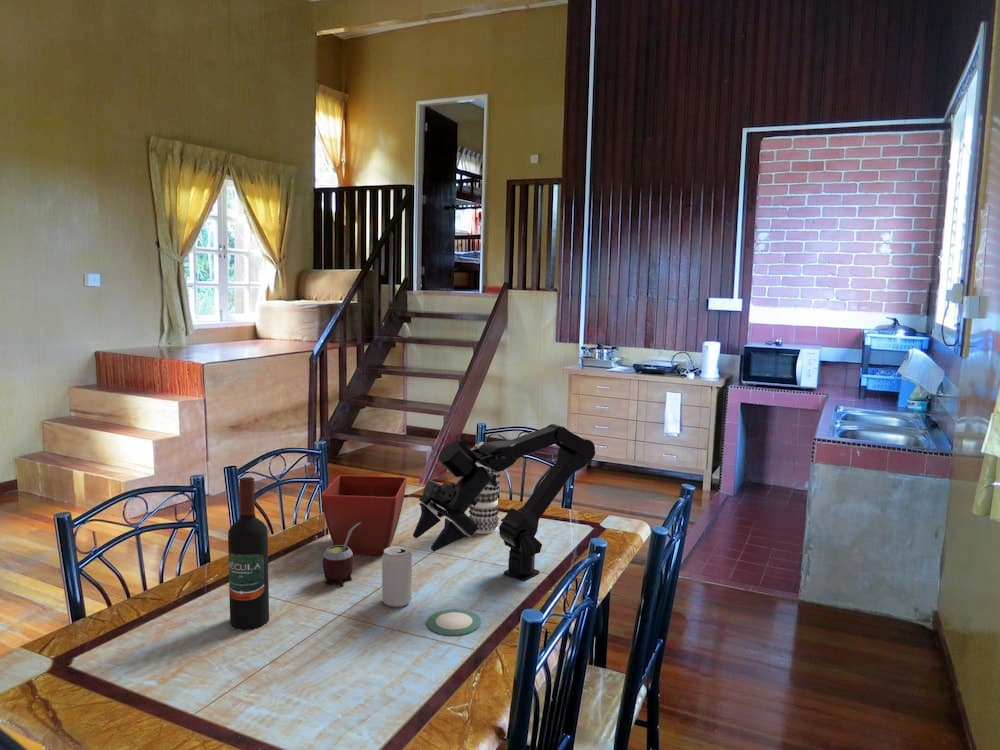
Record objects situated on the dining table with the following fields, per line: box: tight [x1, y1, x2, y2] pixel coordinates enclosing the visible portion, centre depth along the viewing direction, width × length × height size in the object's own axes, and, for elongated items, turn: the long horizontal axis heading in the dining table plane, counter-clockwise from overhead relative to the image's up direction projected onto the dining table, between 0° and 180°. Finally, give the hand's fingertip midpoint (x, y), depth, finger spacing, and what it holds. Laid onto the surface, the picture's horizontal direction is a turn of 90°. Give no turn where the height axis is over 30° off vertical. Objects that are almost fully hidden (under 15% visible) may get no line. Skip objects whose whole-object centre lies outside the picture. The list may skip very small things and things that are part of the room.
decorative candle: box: [468, 441, 501, 535], centre depth 205 cm, size 9×9×25 cm
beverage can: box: [381, 545, 413, 608], centre depth 157 cm, size 6×6×12 cm
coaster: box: [426, 608, 482, 637], centre depth 148 cm, size 11×11×1 cm
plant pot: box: [320, 474, 407, 556], centre depth 189 cm, size 19×19×17 cm
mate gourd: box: [322, 522, 361, 588], centre depth 167 cm, size 8×8×15 cm
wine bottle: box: [227, 476, 270, 631], centre depth 145 cm, size 8×8×30 cm
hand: (422, 543), depth 159 cm, fingers open, 9 cm apart
